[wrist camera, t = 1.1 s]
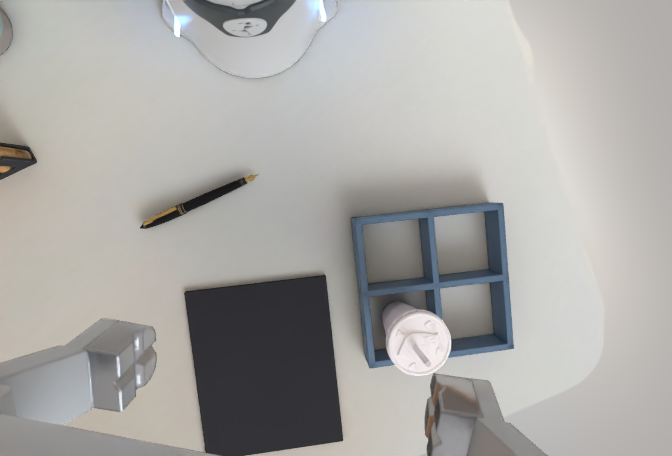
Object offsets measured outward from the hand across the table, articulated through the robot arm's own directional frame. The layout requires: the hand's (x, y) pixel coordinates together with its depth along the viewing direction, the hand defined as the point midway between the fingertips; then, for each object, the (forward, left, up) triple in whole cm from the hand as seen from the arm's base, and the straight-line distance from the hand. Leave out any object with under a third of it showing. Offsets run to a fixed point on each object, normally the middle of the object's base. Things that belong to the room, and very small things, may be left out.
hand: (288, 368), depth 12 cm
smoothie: (+10, +11, -37) cm, 40 cm away
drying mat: (+14, -5, -37) cm, 40 cm away
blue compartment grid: (+6, +15, -37) cm, 40 cm away
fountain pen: (-6, -10, -37) cm, 39 cm away
